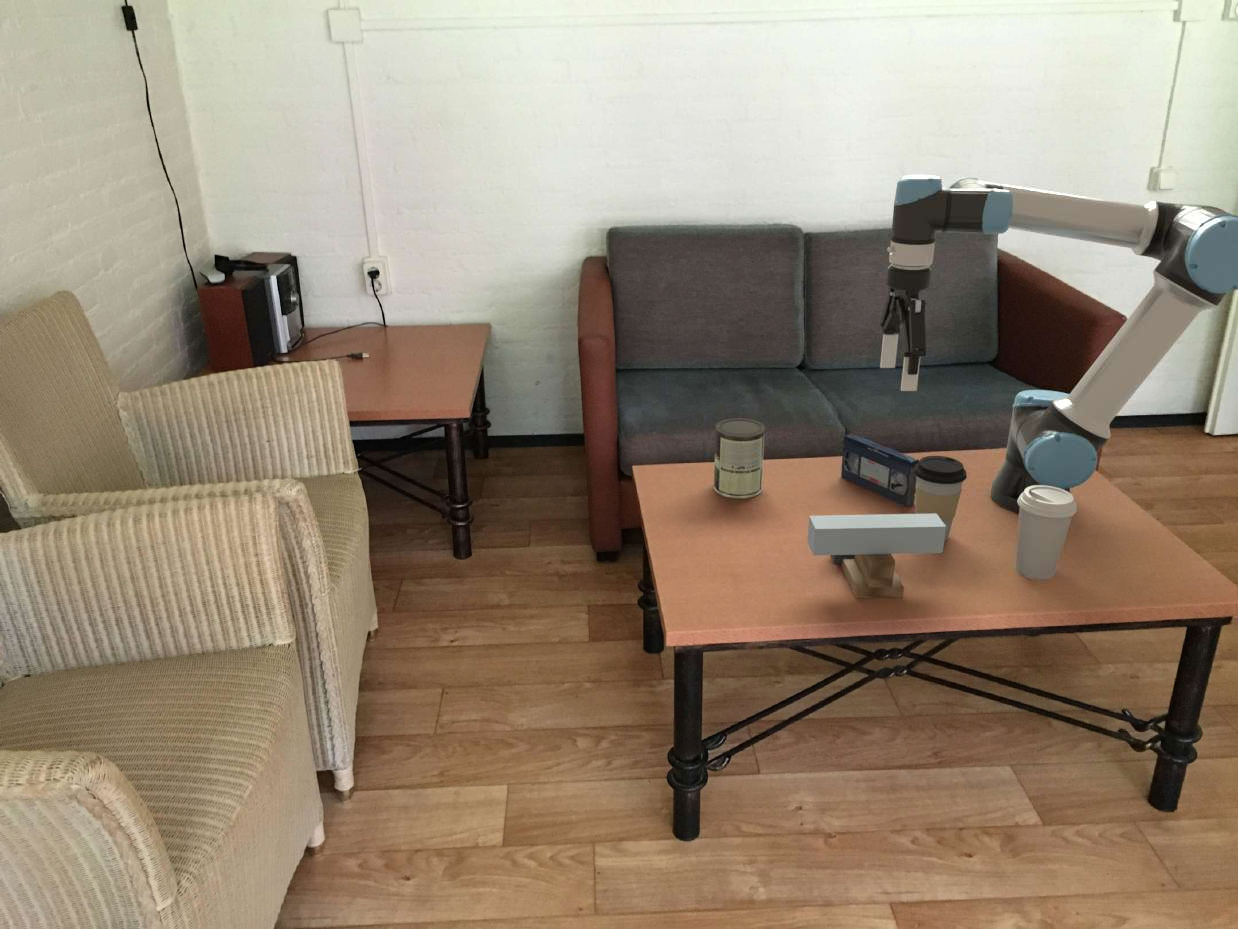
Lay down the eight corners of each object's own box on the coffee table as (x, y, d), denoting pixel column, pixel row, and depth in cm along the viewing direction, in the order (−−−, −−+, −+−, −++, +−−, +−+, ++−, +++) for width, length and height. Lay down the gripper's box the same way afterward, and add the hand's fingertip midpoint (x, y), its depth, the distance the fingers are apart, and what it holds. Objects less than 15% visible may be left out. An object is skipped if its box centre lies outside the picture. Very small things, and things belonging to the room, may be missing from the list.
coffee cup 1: (960, 530, 189) (971, 458, 183) (954, 551, 181) (964, 477, 175) (910, 521, 192) (919, 450, 186) (901, 541, 185) (910, 468, 179)
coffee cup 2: (997, 558, 178) (1009, 483, 172) (1048, 557, 179) (1062, 482, 173) (1020, 585, 169) (1034, 507, 163) (1074, 583, 170) (1089, 505, 164)
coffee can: (703, 485, 209) (705, 424, 203) (741, 475, 214) (744, 414, 208) (733, 503, 201) (735, 439, 195) (772, 492, 206) (775, 429, 200)
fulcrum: (886, 568, 175) (890, 533, 173) (902, 597, 166) (907, 560, 163) (842, 569, 175) (845, 534, 172) (855, 598, 166) (859, 561, 163)
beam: (933, 539, 170) (936, 513, 168) (942, 552, 166) (946, 526, 164) (807, 541, 170) (809, 515, 168) (813, 555, 165) (815, 529, 163)
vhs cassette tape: (839, 477, 212) (843, 435, 208) (849, 474, 214) (853, 432, 210) (904, 508, 198) (910, 463, 194) (914, 504, 199) (920, 459, 196)
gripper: (870, 251, 186) (860, 359, 195) (910, 281, 163) (897, 401, 172) (909, 251, 186) (898, 358, 195) (954, 280, 163) (939, 400, 172)
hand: (897, 378), depth 183 cm, fingers open, 13 cm apart
